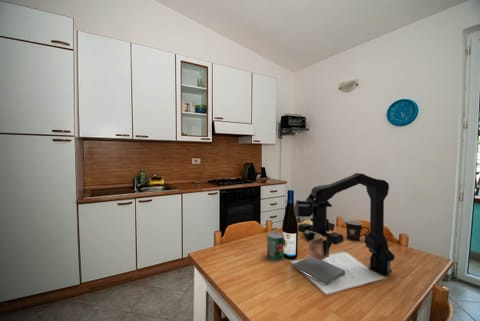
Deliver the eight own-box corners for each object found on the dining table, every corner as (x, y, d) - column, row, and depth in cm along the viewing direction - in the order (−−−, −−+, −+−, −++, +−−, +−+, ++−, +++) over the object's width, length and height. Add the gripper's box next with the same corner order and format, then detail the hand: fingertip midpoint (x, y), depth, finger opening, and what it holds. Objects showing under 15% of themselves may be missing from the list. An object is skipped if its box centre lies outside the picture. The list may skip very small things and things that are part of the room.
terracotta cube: (329, 256, 90) (329, 242, 90) (320, 260, 87) (321, 245, 87) (316, 251, 95) (317, 238, 95) (308, 254, 92) (308, 241, 92)
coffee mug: (342, 237, 129) (342, 221, 128) (351, 235, 132) (352, 219, 132) (360, 245, 118) (360, 227, 118) (369, 242, 122) (370, 225, 122)
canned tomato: (283, 262, 98) (283, 238, 98) (266, 260, 100) (266, 237, 99) (283, 254, 106) (283, 232, 106) (267, 252, 107) (268, 231, 107)
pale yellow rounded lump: (298, 235, 131) (298, 218, 131) (315, 233, 135) (315, 216, 134) (309, 243, 120) (310, 224, 120) (327, 240, 124) (327, 222, 124)
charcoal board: (345, 274, 89) (345, 270, 89) (325, 285, 81) (325, 281, 81) (312, 258, 102) (312, 255, 102) (292, 267, 94) (292, 263, 94)
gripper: (351, 218, 88) (350, 256, 88) (312, 209, 103) (312, 241, 103) (336, 223, 81) (335, 263, 82) (297, 212, 97) (296, 246, 97)
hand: (318, 252), depth 91 cm, fingers closed on terracotta cube, 6 cm apart
